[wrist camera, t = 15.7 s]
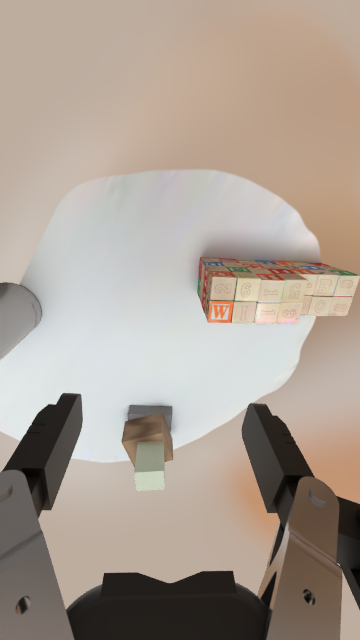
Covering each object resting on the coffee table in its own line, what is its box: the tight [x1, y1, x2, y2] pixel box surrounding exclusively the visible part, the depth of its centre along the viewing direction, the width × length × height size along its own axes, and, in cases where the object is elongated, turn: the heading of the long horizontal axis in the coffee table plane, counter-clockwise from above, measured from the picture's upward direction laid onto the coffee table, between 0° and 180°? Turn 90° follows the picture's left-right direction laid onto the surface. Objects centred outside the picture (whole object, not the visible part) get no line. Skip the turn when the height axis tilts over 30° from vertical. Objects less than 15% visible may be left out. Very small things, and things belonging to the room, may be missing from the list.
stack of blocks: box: [198, 258, 360, 324], centre depth 38 cm, size 21×6×12 cm, turn 87°
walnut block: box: [122, 413, 173, 467], centre depth 51 cm, size 8×8×5 cm
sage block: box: [134, 441, 165, 491], centre depth 46 cm, size 5×5×6 cm
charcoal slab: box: [128, 405, 172, 432], centre depth 55 cm, size 9×9×3 cm
